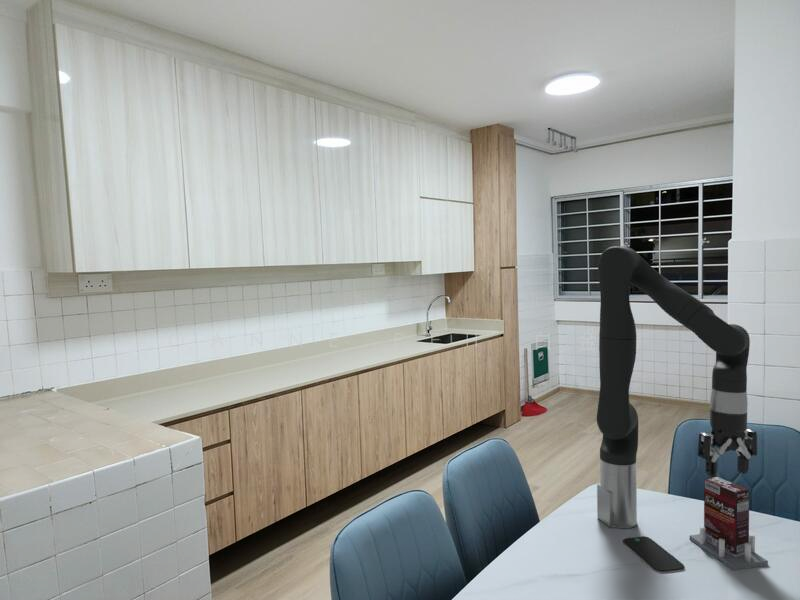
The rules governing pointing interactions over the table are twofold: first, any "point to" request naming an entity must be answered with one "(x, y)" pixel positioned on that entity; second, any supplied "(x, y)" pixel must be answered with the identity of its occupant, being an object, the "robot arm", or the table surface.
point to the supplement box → (726, 515)
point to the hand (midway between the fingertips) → (726, 474)
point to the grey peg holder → (735, 563)
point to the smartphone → (653, 555)
